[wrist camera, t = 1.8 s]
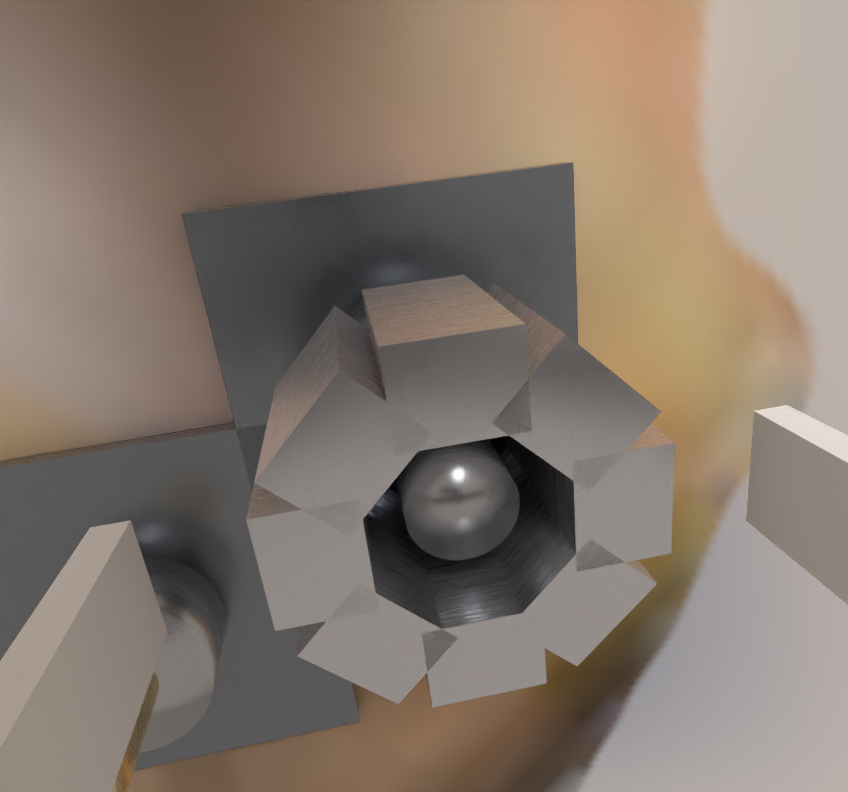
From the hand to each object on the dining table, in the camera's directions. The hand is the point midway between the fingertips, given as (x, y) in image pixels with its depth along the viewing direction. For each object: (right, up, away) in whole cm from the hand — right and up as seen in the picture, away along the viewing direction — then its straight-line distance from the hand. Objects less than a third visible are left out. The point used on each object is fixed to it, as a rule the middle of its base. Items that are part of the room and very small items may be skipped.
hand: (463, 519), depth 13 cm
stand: (-1, +4, +9) cm, 9 cm away
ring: (-1, +2, +3) cm, 4 cm away
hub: (-11, -6, +10) cm, 16 cm away
